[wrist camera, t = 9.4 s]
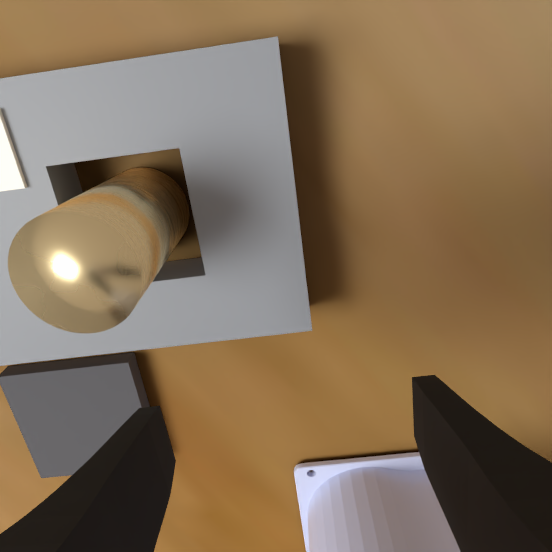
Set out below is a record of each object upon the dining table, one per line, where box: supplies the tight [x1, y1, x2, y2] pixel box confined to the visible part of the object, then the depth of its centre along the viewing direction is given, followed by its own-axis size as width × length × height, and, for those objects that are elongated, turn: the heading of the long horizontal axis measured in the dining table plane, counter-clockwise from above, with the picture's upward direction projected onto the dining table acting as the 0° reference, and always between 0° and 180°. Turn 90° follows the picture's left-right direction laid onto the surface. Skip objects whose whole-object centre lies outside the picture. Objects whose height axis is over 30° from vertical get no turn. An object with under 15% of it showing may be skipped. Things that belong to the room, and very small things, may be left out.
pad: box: [0, 352, 150, 478], centre depth 25 cm, size 7×7×1 cm
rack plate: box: [0, 37, 312, 366], centre depth 20 cm, size 20×12×3 cm, turn 98°
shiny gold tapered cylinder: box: [8, 167, 190, 333], centre depth 17 cm, size 4×4×8 cm
